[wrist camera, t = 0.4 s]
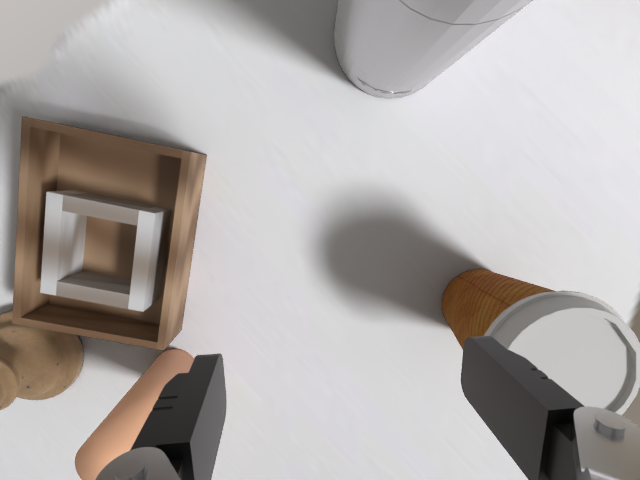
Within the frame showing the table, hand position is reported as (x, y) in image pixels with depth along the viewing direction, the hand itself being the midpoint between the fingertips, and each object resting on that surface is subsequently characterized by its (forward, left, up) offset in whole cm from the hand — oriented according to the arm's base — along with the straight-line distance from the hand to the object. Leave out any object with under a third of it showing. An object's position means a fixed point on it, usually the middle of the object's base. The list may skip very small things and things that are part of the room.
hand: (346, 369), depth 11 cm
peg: (+14, -11, -20) cm, 27 cm away
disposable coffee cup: (+2, +15, -20) cm, 25 cm away
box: (+2, -17, -20) cm, 26 cm away
